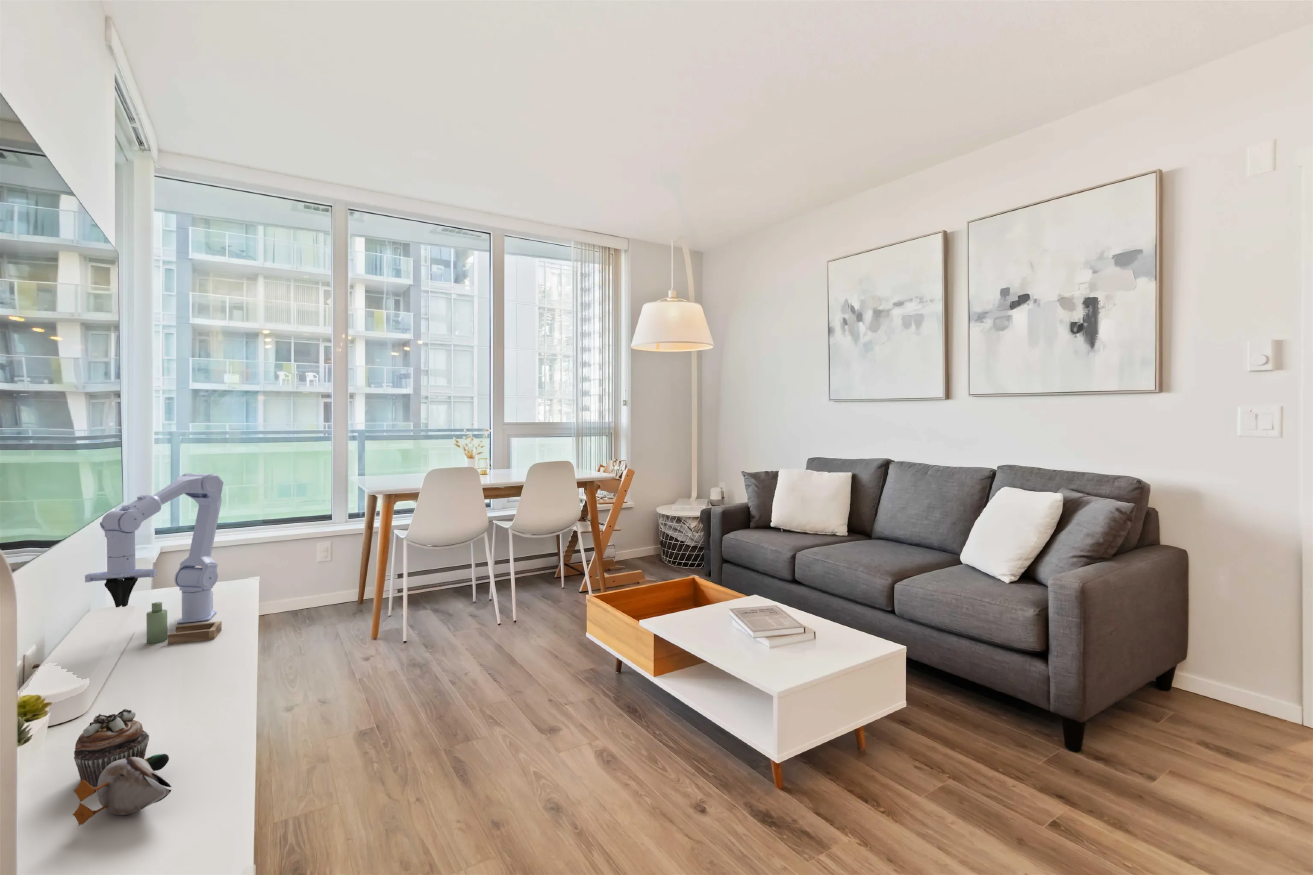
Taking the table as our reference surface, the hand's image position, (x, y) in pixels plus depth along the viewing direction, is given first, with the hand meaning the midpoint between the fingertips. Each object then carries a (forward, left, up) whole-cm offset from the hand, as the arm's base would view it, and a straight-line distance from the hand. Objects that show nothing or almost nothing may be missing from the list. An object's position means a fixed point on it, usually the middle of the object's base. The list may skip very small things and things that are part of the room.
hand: (121, 606), depth 164 cm
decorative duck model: (+87, +30, -11) cm, 93 cm away
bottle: (0, +8, -10) cm, 13 cm away
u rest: (0, +16, -10) cm, 19 cm away
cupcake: (+75, +22, -11) cm, 79 cm away
